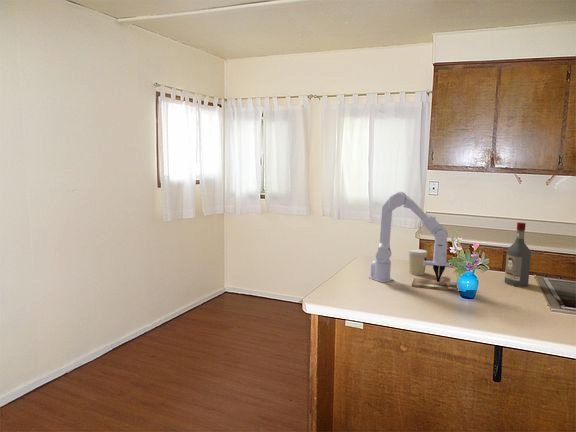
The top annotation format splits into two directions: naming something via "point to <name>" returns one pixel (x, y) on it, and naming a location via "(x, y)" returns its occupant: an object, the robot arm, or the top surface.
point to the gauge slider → (445, 280)
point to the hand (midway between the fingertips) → (438, 281)
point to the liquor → (518, 260)
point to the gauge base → (434, 284)
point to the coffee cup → (417, 261)
